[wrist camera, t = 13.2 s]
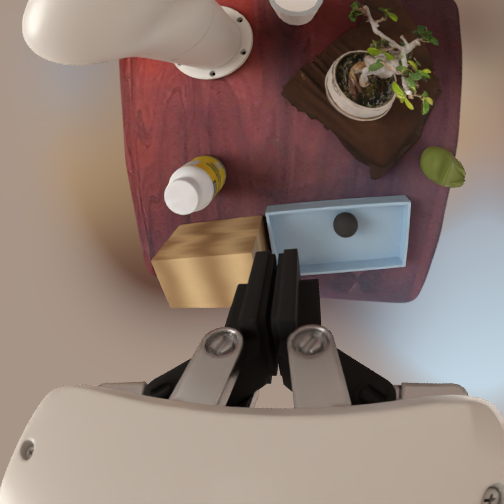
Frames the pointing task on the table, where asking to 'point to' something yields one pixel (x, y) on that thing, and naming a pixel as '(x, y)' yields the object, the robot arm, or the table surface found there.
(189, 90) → the table surface
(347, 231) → the ball
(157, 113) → the table surface
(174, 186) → the pill bottle
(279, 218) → the tray
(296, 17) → the shot glass
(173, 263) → the plinth
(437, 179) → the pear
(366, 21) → the potted plant
